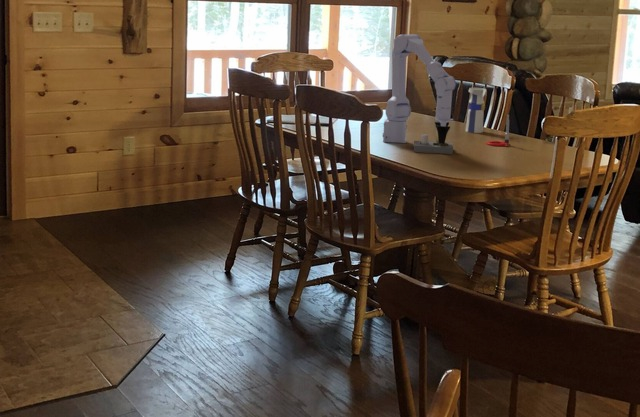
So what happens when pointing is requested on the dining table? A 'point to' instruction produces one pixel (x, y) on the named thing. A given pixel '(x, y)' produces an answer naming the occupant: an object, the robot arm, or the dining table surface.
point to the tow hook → (505, 137)
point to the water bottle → (476, 109)
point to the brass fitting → (438, 141)
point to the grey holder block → (431, 146)
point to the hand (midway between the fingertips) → (441, 141)
